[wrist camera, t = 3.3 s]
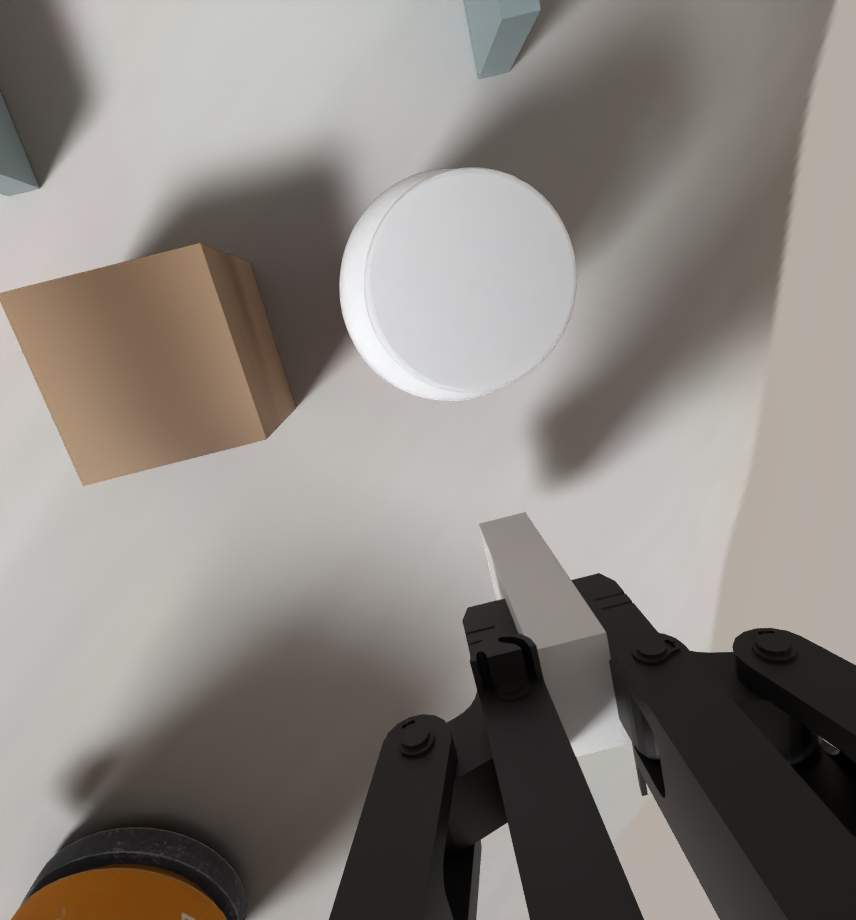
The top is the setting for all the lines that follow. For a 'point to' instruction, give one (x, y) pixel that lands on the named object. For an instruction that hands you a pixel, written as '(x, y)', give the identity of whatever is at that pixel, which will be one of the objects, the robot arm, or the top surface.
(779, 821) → the robot arm
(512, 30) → the box
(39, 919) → the canister
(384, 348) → the pill bottle
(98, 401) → the tan block
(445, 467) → the top surface
